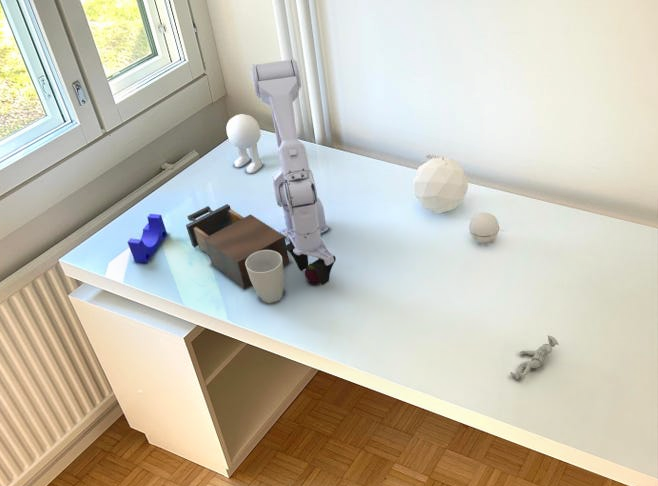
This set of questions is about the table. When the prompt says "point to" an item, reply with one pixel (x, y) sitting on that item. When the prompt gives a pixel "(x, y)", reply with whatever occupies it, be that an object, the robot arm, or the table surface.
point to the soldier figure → (535, 358)
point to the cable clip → (148, 239)
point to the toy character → (245, 140)
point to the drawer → (209, 224)
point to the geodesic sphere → (440, 184)
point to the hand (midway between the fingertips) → (314, 275)
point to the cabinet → (243, 247)
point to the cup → (266, 274)
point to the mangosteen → (311, 275)
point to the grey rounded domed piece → (484, 227)
